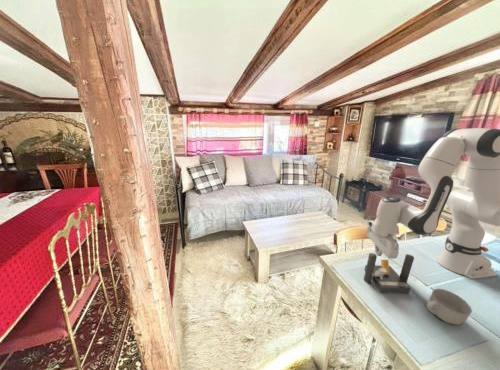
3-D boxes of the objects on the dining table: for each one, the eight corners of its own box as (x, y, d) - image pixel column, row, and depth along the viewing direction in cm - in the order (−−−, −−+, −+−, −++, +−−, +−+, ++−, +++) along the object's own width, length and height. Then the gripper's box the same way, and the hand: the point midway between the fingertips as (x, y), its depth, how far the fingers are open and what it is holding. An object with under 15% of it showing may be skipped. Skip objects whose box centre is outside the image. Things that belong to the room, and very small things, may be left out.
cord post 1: (369, 278, 95) (374, 253, 91) (372, 282, 93) (378, 257, 88) (362, 277, 96) (367, 252, 91) (365, 282, 93) (371, 257, 89)
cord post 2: (403, 279, 95) (410, 254, 91) (408, 284, 92) (415, 258, 88) (397, 279, 95) (404, 254, 91) (401, 284, 92) (408, 258, 88)
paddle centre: (387, 274, 94) (386, 259, 95) (389, 275, 92) (388, 260, 94) (382, 274, 94) (380, 259, 95) (384, 275, 92) (382, 260, 94)
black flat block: (388, 270, 100) (390, 265, 99) (408, 293, 87) (410, 287, 86) (364, 270, 101) (365, 264, 100) (380, 292, 87) (381, 286, 86)
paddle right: (378, 273, 93) (385, 268, 88) (379, 277, 92) (387, 272, 87) (373, 273, 93) (380, 268, 88) (374, 276, 92) (381, 271, 87)
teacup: (448, 305, 82) (454, 289, 79) (473, 331, 71) (481, 314, 69) (411, 302, 83) (416, 286, 80) (431, 327, 73) (438, 310, 70)
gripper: (406, 242, 85) (398, 269, 89) (378, 219, 105) (373, 242, 109) (390, 241, 85) (383, 268, 90) (366, 219, 105) (361, 242, 109)
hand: (377, 254), depth 99 cm, fingers closed
